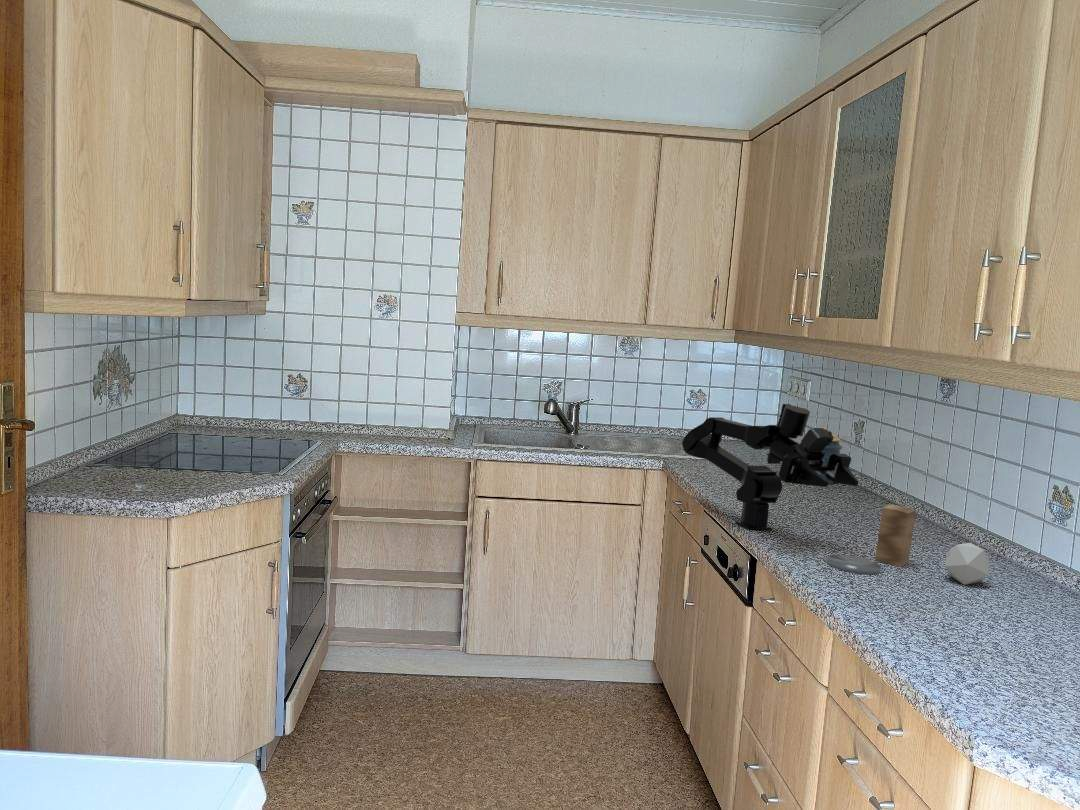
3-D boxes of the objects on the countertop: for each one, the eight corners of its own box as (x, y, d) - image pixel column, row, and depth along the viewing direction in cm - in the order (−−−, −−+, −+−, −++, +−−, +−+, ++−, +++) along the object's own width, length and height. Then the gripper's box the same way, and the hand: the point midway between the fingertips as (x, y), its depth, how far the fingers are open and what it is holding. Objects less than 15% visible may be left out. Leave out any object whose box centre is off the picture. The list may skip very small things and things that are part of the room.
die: (958, 576, 188) (937, 539, 186) (1000, 566, 183) (978, 528, 181) (955, 598, 181) (934, 560, 180) (998, 589, 176) (976, 550, 175)
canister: (840, 486, 278) (848, 431, 276) (798, 481, 280) (805, 426, 278) (834, 478, 291) (841, 426, 289) (794, 473, 293) (801, 422, 291)
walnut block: (874, 560, 192) (882, 507, 190) (883, 556, 196) (890, 504, 194) (900, 567, 188) (908, 513, 187) (908, 562, 192) (916, 509, 191)
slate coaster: (815, 558, 189) (815, 555, 189) (856, 557, 192) (857, 554, 192) (848, 575, 178) (849, 571, 178) (892, 574, 182) (892, 570, 182)
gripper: (773, 421, 195) (822, 450, 182) (832, 422, 204) (884, 450, 191) (759, 466, 198) (807, 498, 185) (818, 466, 207) (867, 495, 194)
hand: (842, 484), depth 189 cm, fingers open, 9 cm apart
